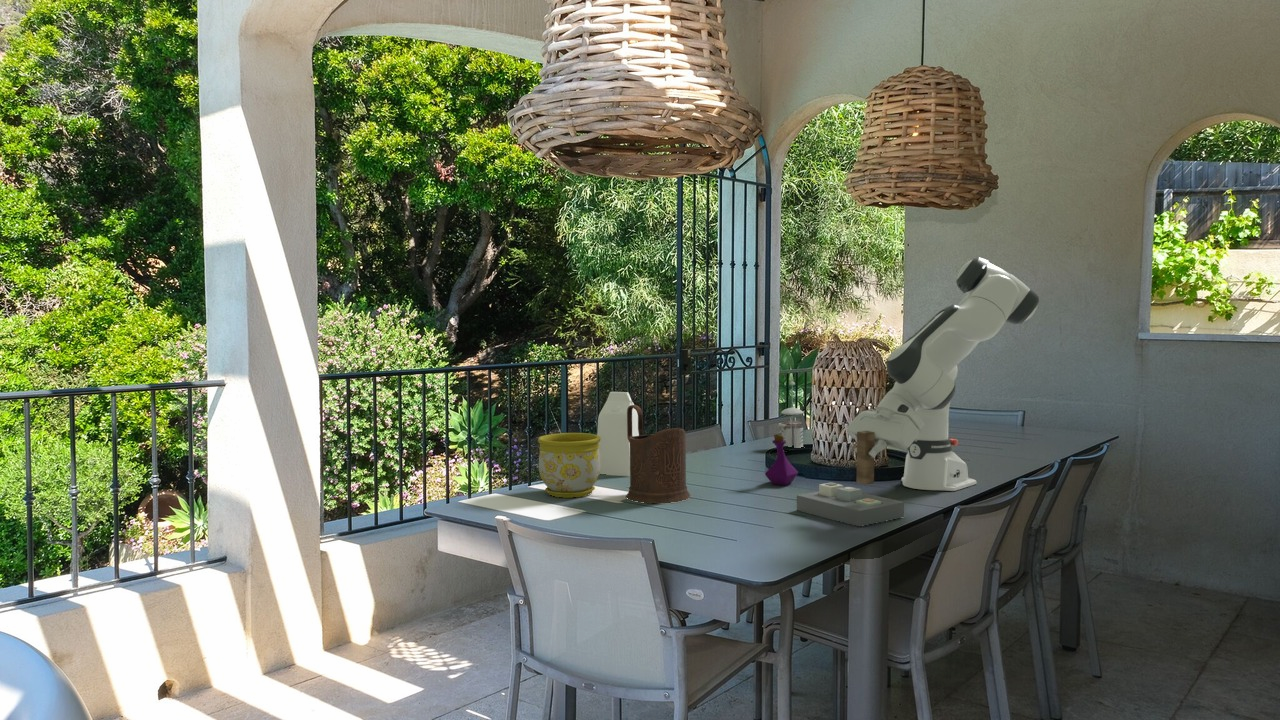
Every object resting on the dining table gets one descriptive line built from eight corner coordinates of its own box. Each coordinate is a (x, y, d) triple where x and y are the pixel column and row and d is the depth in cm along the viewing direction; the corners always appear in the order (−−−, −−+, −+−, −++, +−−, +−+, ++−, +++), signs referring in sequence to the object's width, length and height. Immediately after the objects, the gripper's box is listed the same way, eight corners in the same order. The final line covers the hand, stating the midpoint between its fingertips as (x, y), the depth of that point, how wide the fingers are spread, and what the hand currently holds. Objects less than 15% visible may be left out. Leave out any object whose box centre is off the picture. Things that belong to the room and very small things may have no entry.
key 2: (867, 511, 234) (867, 497, 234) (881, 515, 231) (881, 500, 231) (855, 514, 232) (855, 499, 232) (868, 517, 228) (869, 502, 228)
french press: (804, 447, 343) (804, 380, 341) (807, 452, 331) (807, 383, 329) (778, 446, 344) (777, 380, 342) (779, 452, 332) (779, 383, 330)
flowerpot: (546, 502, 255) (545, 443, 253) (533, 489, 272) (532, 434, 271) (608, 497, 260) (608, 439, 259) (592, 485, 277) (591, 431, 276)
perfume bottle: (786, 487, 271) (786, 426, 270) (764, 484, 275) (764, 424, 274) (798, 483, 277) (798, 423, 276) (776, 480, 281) (776, 421, 280)
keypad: (840, 502, 250) (840, 487, 250) (904, 517, 232) (904, 502, 232) (796, 510, 242) (796, 495, 241) (859, 527, 223) (859, 510, 223)
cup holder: (649, 507, 247) (648, 415, 246) (603, 492, 267) (601, 406, 266) (704, 498, 258) (703, 409, 256) (655, 484, 278) (654, 402, 276)
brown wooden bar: (865, 481, 234) (866, 430, 232) (873, 483, 231) (874, 432, 230) (856, 482, 232) (857, 431, 231) (864, 484, 229) (865, 433, 228)
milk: (644, 470, 301) (643, 391, 299) (630, 476, 290) (629, 394, 288) (610, 467, 305) (609, 390, 303) (595, 474, 295) (594, 393, 293)
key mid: (849, 499, 240) (849, 485, 240) (861, 502, 236) (861, 488, 236) (836, 502, 237) (837, 487, 237) (849, 505, 234) (849, 490, 233)
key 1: (831, 495, 245) (831, 481, 245) (843, 498, 242) (843, 484, 241) (819, 497, 243) (819, 483, 243) (831, 500, 239) (831, 486, 239)
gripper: (860, 400, 242) (830, 439, 239) (916, 409, 224) (885, 452, 221) (872, 416, 245) (843, 455, 241) (929, 426, 227) (898, 469, 223)
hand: (863, 454), depth 231 cm, fingers closed on brown wooden bar, 3 cm apart
